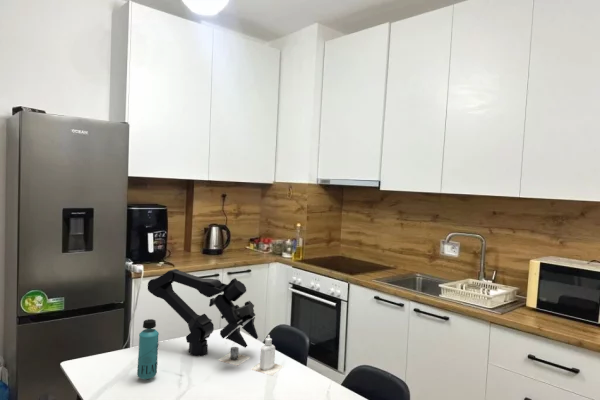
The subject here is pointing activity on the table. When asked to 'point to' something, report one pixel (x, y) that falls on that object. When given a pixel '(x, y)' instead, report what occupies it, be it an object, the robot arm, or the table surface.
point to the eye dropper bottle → (267, 355)
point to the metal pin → (234, 353)
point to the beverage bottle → (148, 350)
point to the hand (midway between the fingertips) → (251, 342)
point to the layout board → (256, 368)
